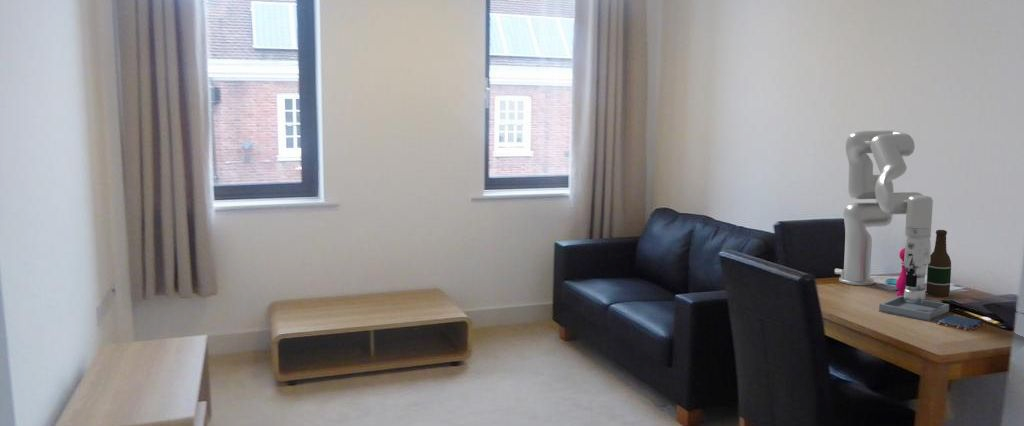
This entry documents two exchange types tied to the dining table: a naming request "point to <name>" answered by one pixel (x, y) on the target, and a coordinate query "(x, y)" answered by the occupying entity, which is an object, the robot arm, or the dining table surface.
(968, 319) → the woven mat
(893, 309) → the tray
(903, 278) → the pepper mill
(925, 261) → the plastic bottle
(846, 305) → the dining table surface
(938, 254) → the beer bottle
